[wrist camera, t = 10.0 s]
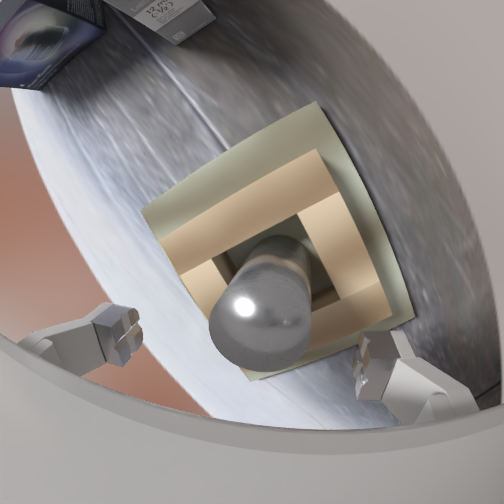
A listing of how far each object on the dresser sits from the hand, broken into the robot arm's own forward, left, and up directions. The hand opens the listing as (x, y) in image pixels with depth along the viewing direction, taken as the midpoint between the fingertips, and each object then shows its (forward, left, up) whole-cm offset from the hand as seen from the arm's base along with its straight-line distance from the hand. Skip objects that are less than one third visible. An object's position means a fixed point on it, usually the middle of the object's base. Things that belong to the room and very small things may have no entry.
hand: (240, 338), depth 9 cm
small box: (-28, -7, -10) cm, 31 cm away
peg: (+1, 0, -9) cm, 9 cm away
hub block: (+1, 0, -10) cm, 10 cm away
